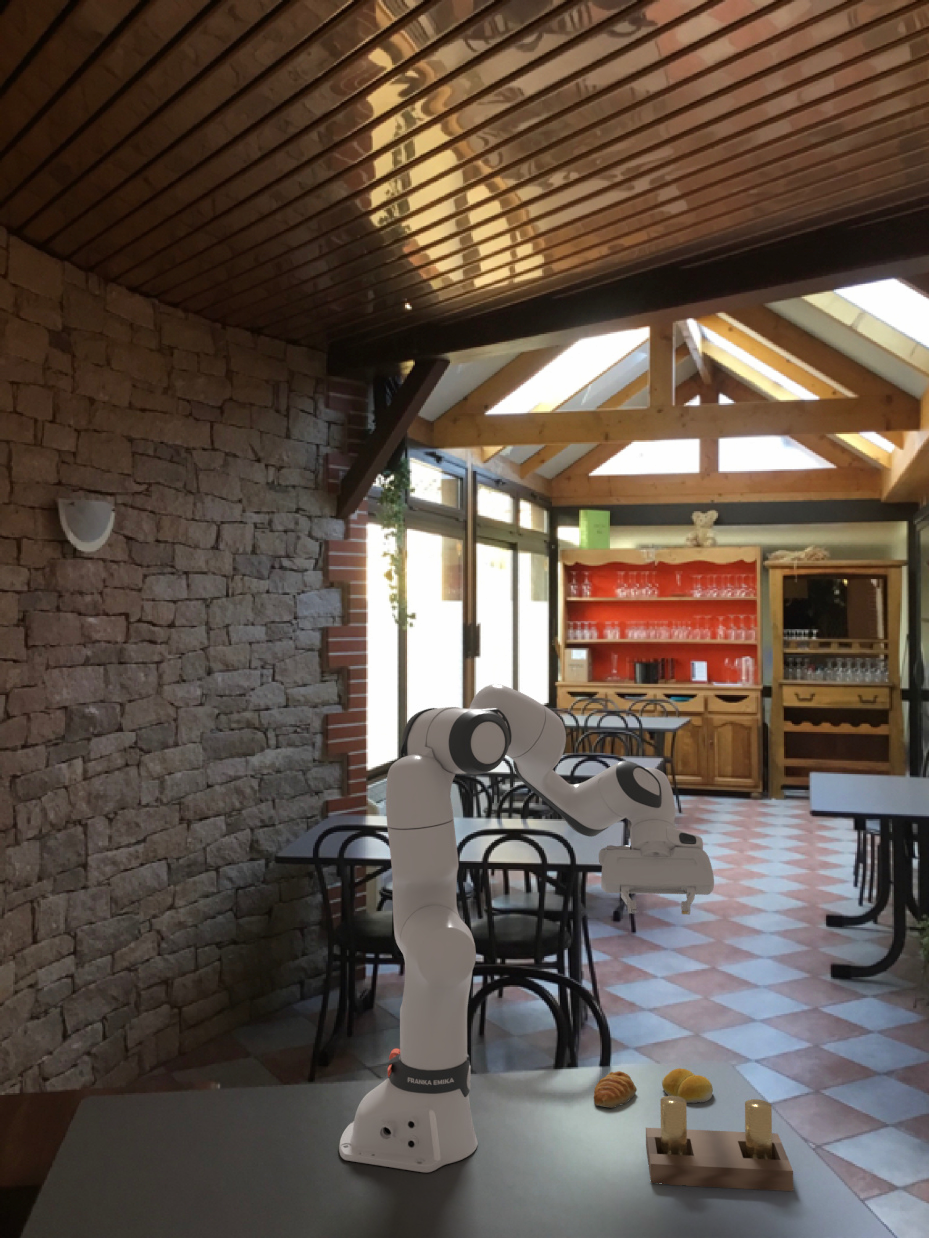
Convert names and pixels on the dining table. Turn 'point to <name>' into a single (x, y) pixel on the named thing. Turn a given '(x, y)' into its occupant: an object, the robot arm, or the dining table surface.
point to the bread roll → (687, 1086)
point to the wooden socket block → (718, 1162)
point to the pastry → (614, 1090)
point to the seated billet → (758, 1129)
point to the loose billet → (673, 1126)
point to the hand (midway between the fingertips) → (659, 912)
